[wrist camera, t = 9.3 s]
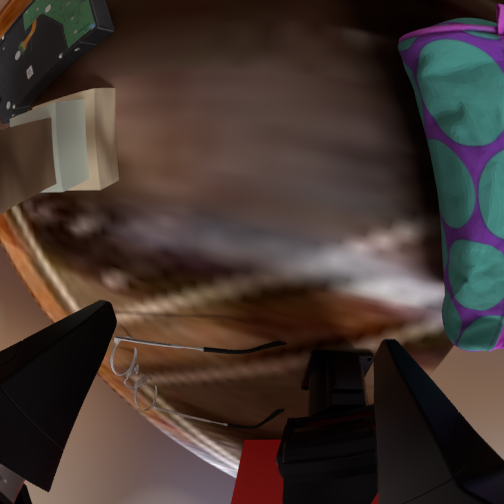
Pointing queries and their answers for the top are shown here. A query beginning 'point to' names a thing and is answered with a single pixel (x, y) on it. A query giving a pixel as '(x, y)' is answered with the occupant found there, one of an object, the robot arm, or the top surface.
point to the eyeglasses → (205, 349)
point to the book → (260, 474)
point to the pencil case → (465, 166)
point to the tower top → (64, 140)
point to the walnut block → (25, 162)
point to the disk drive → (46, 47)
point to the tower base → (98, 136)
